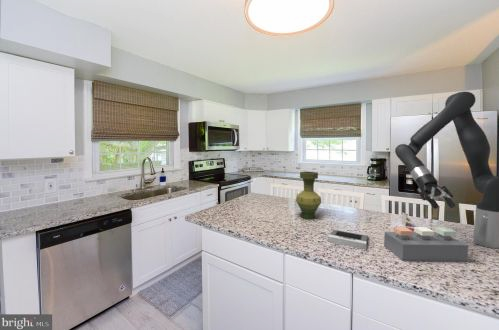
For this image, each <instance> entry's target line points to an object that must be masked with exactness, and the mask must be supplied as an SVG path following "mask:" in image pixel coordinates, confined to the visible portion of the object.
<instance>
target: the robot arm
mask: <svg viewBox="0 0 499 330" xmlns="http://www.w3.org/2000/svg"><path fill="white" fill-rule="evenodd" d="M475 103H476V96H475V94H474V93H473V92H470V91H459V92H456V93H453V94H451V95H449V96H448V97H447V98H446V99H445V103H444V104H445V105H444V106H445V107H444V108H443V109H442V110H441V111H440V112H439V113H437V114H436V115H435V116H434V117H433V118H432V119H431V120H429V121H427V122H426V123H425V124H424V125H422V126H421V127H420V128H419V129H418V130H416V132H414V134H413V135H411V137H410V138H409V139H410V142H409V144H405V143H401V144H399V145H397V146H396V147H395V148H394V149H395V150H394V152H395V156H396V157H397V158H398V159H399V160H400V161H401V162H402V164H403V166H405V168H406V169H407V171H408V172H409V174H410V175H411V177H412V180H414V182H415V184H417V186H418V188H417V189H416V191H417V193H418V194H419V196H420V198H421V199H422V201H426V202H428V203H429V204H430V205H431V207H432V208H433V209H438V208H439V207H440V205H439V204H438V202H437V201H436V200H435V199H434V198H435V197H437V198H439V199H442V200H444V201H445V203H446V204H447V206H448V207H449V209H453V208H455V207H456V204H455V202H454V201H453V200H452V198H454V195H453V194H452V192H451V191H450V190H449V189H448V188H447V186H445V185H443V186H439V185H438V183H439V181H438V180H437V179H436V178H435V176H434V175H433V173H432V172H431V171H430V169H428V168H427V166H426V165H425V164H424V163H423V161H422V160H421V159H420V158H418V157H417V155H418V154H419V152H420V151H421V150H422V148H423V147H424V146H425V145H426V144H427V143H428V142H429V141H430V140H432V139H433V138H434V137H435V136H436V135H437V134H438V133H439V132H440V131H441V130H443V129H444V128H445V127H446V126H447V125H448V124H450V123H451V122H453V124H454V127H455V131H456V134H457V136H458V140H459V143H460V146H461V149H462V151H463V153H464V157H465V159H466V161H467V164H468V166H469V168H470V172H471V173H470V174H471V178H472V182H473V185H474V188H475V190H477V192H479V193H482V194H483V197H482V199H481V200H479V201H478V200H477V202H476V205H475V214H474V215H475V216H474V217H475V218H474V228H473V229H474V230H473V240H472V241H473V243H475V244H476V245H479V246H481V247H486V248H491V249H499V176H496V175H494V174H493V172H492V169H491V167H490V164H489V161H490V160H489V159H490V155H491V145H490V143H489V140H488V137H487V135H486V133H485V131H484V130H483V129H482V127H481V126H480V125H479V124H478V123H477V122H476V120H475V118H474V117H473V113H472V111H471V110H472V107H474V105H475Z"/></svg>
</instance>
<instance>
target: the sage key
mask: <svg viewBox="0 0 499 330" xmlns="http://www.w3.org/2000/svg"><path fill="white" fill-rule="evenodd" d="M434 232H436V233H438V237H439V238H440V239H442V240H451V237H456V235H457V234H456V233H457V231H455V230H453V229H451V228H449V227H446V226H445V227H444V226H443V227H441V226H435V227H434Z"/></svg>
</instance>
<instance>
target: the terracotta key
mask: <svg viewBox="0 0 499 330" xmlns="http://www.w3.org/2000/svg"><path fill="white" fill-rule="evenodd" d="M406 227H407V226H401V227H396V226H393V232H396V233H397V237H398V238H399V239H401V240H408V236H412V234H413V231H411V230H410V229H408V228H406Z"/></svg>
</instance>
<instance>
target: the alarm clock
mask: <svg viewBox="0 0 499 330" xmlns="http://www.w3.org/2000/svg"><path fill="white" fill-rule="evenodd" d="M368 240H369V234H367V233H365V234H364V233H360V232H353V231H348V230H343V229H337V228H333V229H332V231H331V232H330V234H329V235H327V242H329V243H331V244H332V243H333V244H338V245H341V246H348V247H352V248H356V249H362V250H367V242H368Z"/></svg>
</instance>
